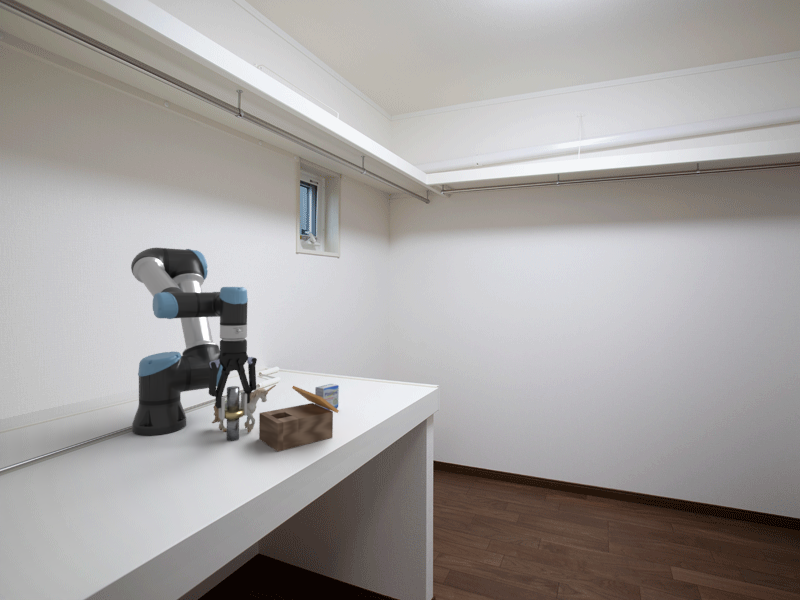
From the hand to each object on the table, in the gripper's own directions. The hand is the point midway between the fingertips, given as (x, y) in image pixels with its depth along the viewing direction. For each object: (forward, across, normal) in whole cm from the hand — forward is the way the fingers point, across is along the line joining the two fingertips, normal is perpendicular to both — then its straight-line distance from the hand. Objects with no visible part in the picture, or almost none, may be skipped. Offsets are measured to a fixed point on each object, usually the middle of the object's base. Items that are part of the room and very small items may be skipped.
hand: (232, 416), depth 131 cm
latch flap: (-4, +21, -11) cm, 24 cm away
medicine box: (+7, +39, +10) cm, 41 cm away
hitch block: (+7, +15, -11) cm, 20 cm away
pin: (+7, 0, 0) cm, 7 cm away
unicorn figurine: (+7, +7, +8) cm, 13 cm away
